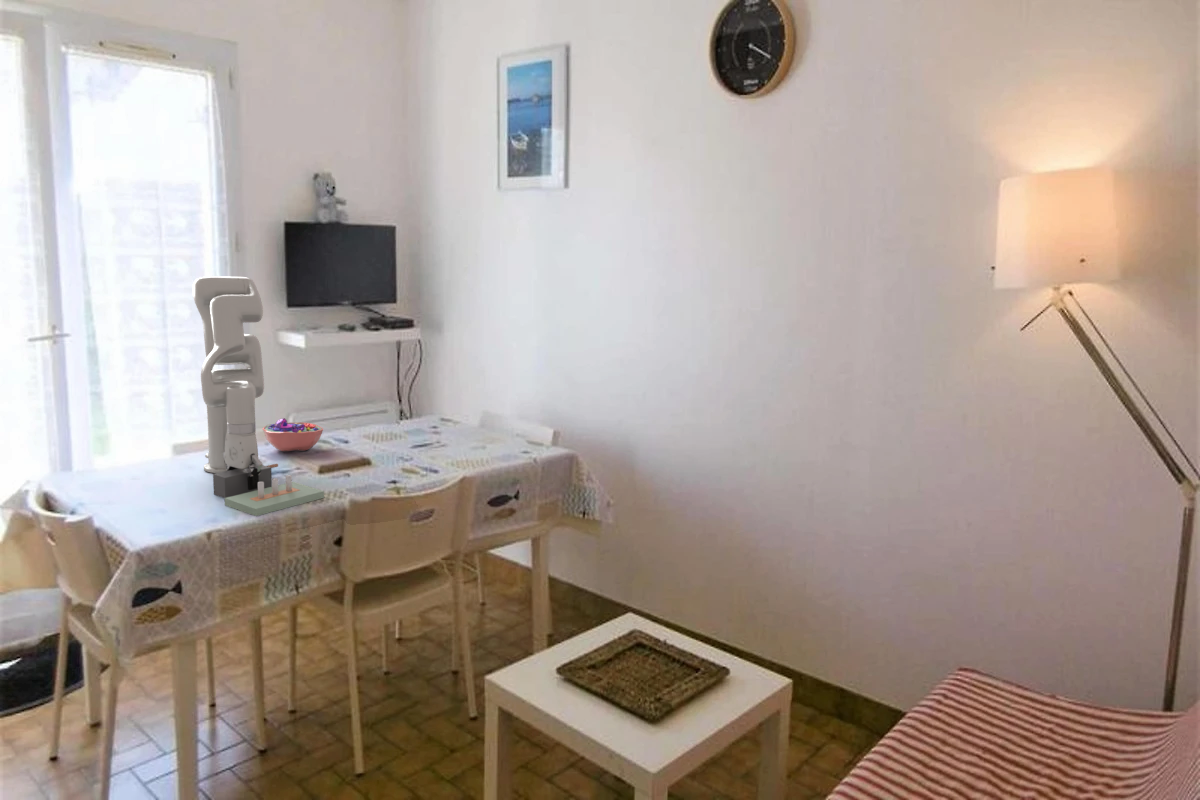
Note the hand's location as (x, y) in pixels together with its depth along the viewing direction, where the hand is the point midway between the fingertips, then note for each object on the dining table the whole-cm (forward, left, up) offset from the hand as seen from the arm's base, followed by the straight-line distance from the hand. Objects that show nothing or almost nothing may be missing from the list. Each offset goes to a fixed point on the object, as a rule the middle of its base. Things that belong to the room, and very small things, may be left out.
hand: (243, 485), depth 247 cm
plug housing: (0, +2, -2) cm, 3 cm away
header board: (+15, 0, -2) cm, 15 cm away
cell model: (-28, +38, -2) cm, 47 cm away
